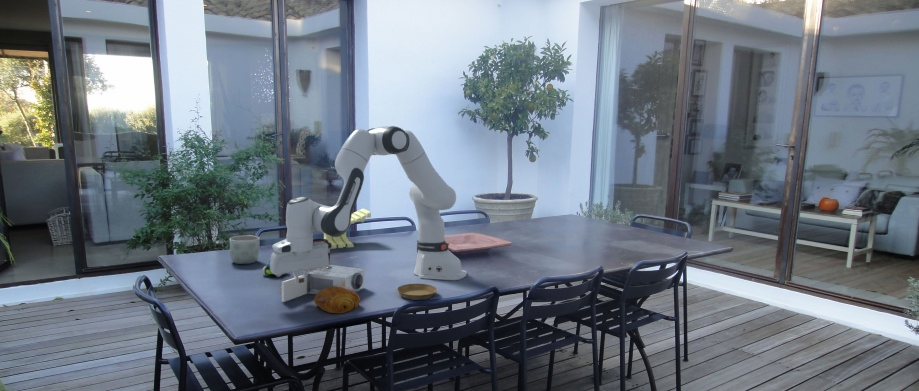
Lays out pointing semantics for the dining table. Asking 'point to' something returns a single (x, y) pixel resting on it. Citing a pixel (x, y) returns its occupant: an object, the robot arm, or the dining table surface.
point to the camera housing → (336, 278)
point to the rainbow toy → (267, 271)
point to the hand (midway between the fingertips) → (300, 282)
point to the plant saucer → (417, 291)
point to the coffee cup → (324, 243)
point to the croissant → (337, 299)
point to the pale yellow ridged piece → (343, 240)
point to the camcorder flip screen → (293, 289)
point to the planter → (244, 249)
